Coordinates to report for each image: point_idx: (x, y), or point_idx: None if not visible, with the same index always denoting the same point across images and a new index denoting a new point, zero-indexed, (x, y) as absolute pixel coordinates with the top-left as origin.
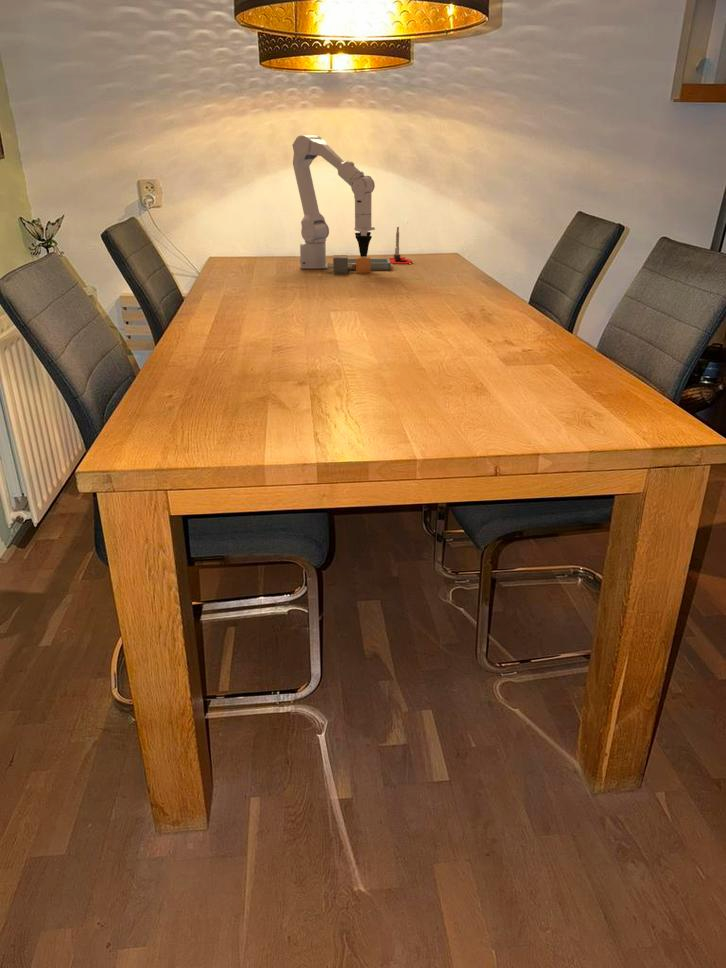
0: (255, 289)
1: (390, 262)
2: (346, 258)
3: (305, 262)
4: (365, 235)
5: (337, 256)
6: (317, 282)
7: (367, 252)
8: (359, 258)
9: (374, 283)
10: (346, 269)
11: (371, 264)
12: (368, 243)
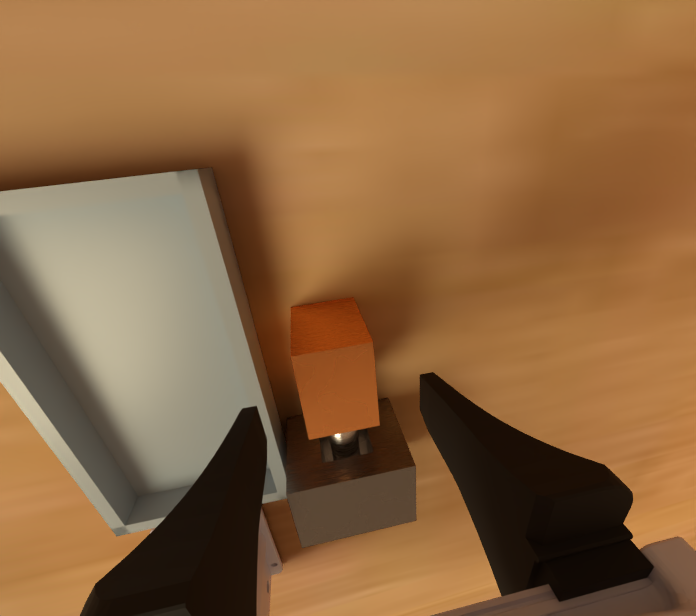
0: None
1: None
2: (414, 468)
3: (266, 587)
4: (679, 550)
5: (355, 520)
6: (568, 450)
7: (450, 387)
8: (373, 408)
9: (662, 237)
10: (394, 418)
11: (242, 320)
12: (528, 440)
